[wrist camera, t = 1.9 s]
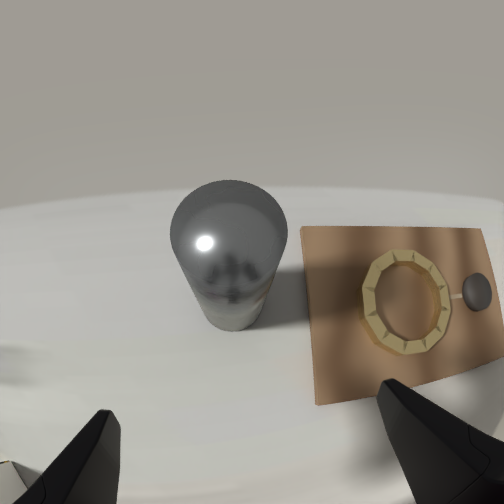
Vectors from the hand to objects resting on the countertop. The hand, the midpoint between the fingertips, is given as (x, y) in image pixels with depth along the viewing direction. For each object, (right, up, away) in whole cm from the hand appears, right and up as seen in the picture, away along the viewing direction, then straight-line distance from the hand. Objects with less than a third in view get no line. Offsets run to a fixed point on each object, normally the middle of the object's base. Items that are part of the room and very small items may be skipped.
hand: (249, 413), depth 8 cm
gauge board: (+15, +1, +15) cm, 21 cm away
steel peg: (-1, +1, +14) cm, 14 cm away
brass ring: (+12, +1, +14) cm, 19 cm away
